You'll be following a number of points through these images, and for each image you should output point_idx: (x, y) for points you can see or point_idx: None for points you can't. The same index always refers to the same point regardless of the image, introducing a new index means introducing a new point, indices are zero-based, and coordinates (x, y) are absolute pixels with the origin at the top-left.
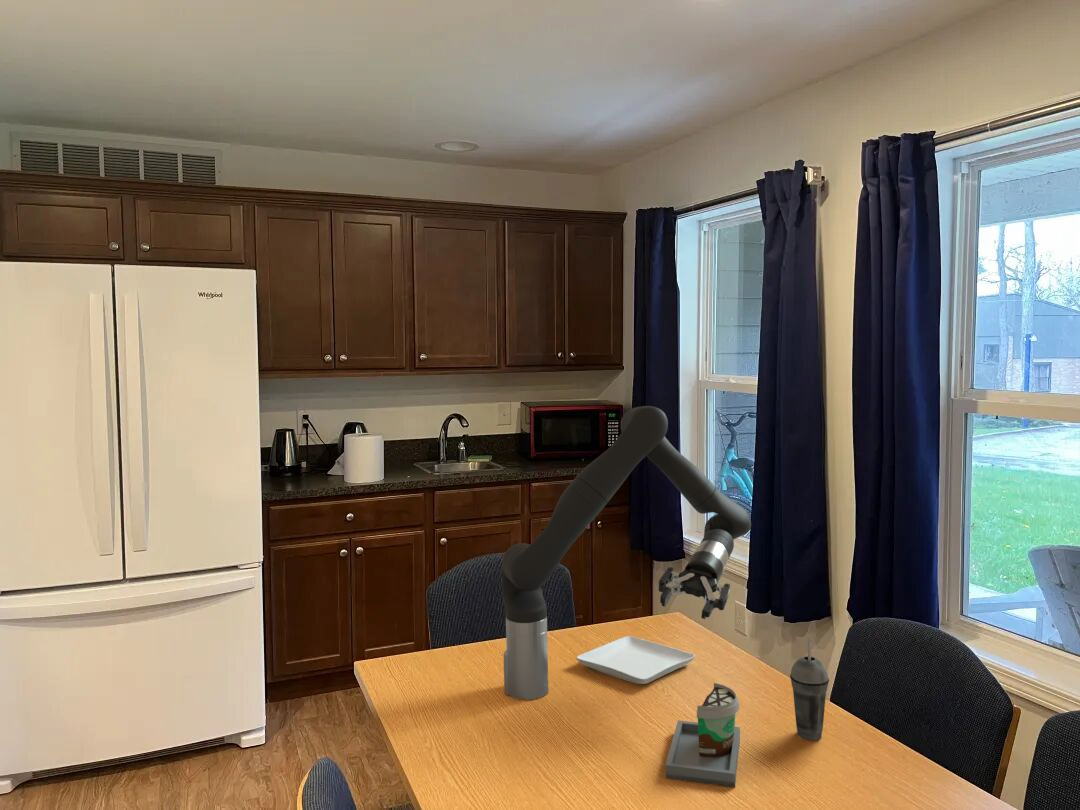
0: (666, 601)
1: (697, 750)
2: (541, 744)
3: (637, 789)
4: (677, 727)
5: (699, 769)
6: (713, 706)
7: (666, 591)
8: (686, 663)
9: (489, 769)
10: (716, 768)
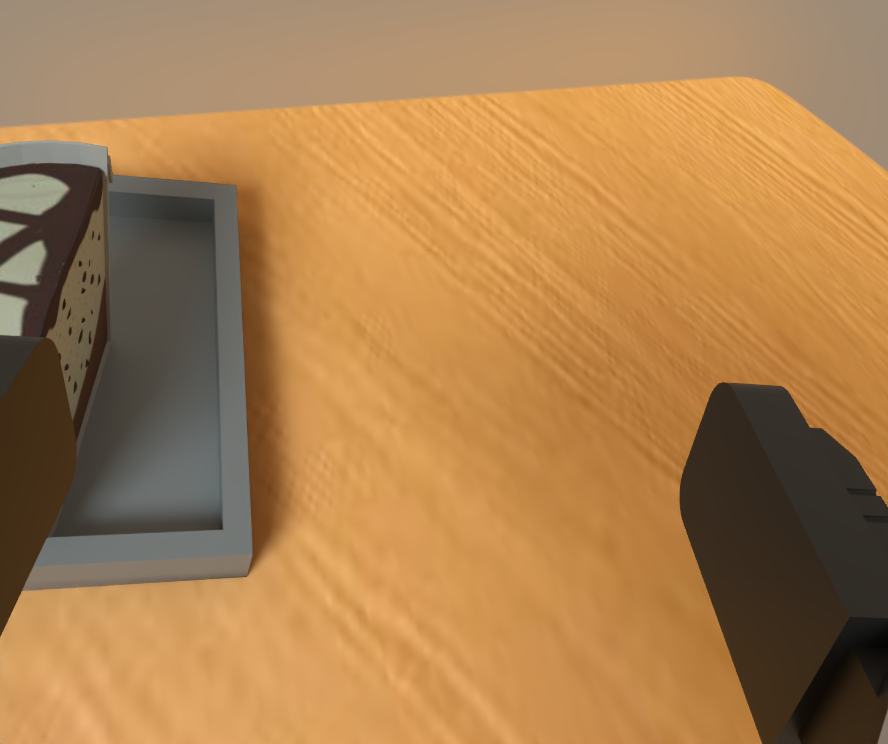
0: (713, 504)
1: (124, 382)
2: (704, 341)
3: (309, 156)
4: (241, 476)
5: None
6: (8, 143)
7: (852, 516)
8: None
9: (734, 195)
10: None
